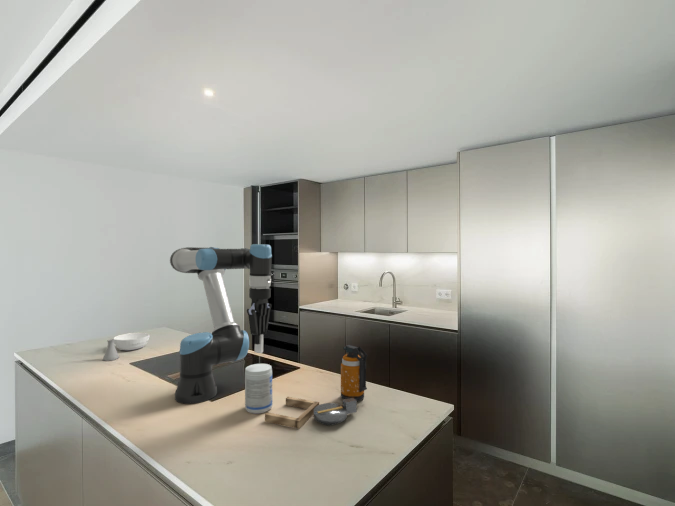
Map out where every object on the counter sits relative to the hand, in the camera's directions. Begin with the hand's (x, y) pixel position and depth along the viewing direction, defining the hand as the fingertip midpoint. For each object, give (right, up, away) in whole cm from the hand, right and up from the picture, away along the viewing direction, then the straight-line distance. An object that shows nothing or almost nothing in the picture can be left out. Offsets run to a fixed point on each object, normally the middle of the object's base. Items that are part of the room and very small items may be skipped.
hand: (258, 352), depth 126 cm
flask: (-90, -20, +56) cm, 107 cm away
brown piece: (+12, -20, -6) cm, 24 cm away
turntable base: (+26, -20, -10) cm, 34 cm away
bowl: (-90, -20, +76) cm, 120 cm away
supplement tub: (0, -20, -2) cm, 20 cm away
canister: (+35, -20, +7) cm, 41 cm away
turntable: (+28, -18, -9) cm, 35 cm away
